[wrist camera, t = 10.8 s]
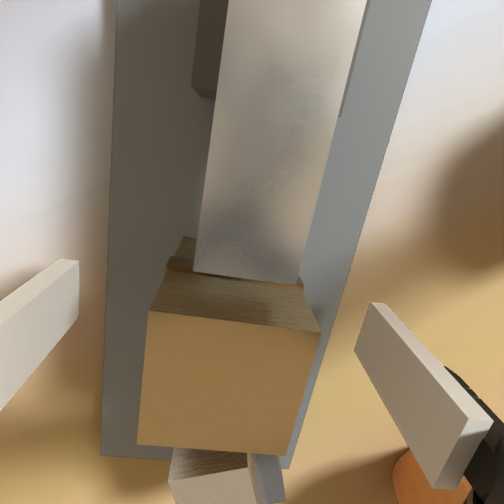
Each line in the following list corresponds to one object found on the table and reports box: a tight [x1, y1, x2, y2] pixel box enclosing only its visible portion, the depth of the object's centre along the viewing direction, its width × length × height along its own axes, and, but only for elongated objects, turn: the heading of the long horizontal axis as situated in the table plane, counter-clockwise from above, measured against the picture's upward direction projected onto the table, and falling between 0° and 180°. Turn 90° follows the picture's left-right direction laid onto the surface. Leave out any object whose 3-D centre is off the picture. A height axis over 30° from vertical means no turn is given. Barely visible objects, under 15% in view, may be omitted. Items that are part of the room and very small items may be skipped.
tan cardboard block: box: [137, 236, 322, 456], centre depth 13 cm, size 5×5×7 cm
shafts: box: [168, 0, 367, 504], centre depth 12 cm, size 27×6×3 cm, turn 170°
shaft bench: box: [100, 0, 432, 504], centre depth 15 cm, size 28×12×4 cm, turn 170°
